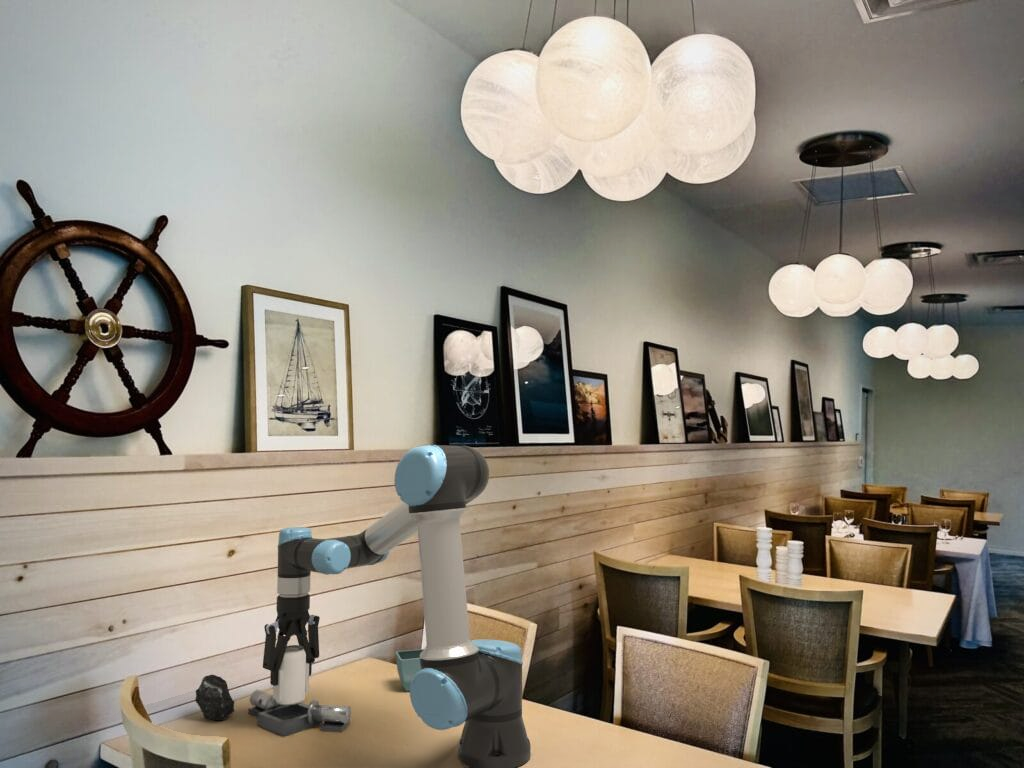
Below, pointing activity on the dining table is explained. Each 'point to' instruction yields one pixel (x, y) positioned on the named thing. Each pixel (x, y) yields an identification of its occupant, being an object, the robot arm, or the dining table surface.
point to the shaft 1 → (261, 702)
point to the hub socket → (285, 719)
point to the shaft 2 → (329, 716)
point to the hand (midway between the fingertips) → (290, 694)
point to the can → (293, 675)
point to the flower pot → (408, 666)
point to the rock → (214, 698)
